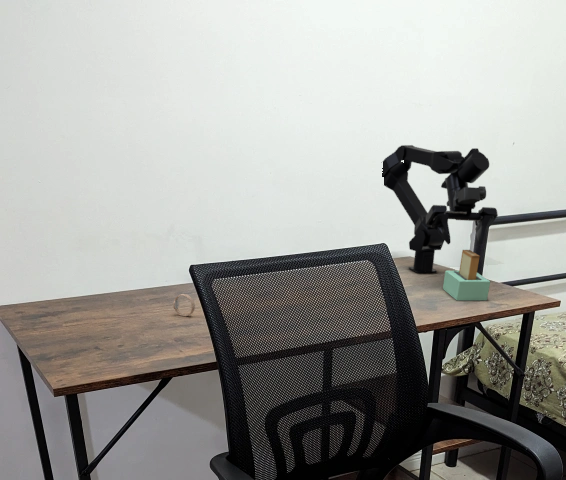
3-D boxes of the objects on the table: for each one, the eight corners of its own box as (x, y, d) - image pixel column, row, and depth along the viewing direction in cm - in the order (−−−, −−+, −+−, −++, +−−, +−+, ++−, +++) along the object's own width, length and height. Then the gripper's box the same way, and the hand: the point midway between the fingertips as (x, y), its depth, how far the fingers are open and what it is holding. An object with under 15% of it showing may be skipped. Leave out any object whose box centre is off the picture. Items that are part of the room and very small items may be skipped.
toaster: (442, 288, 200) (445, 269, 198) (475, 288, 201) (478, 269, 199) (456, 300, 190) (459, 280, 187) (491, 300, 191) (494, 280, 189)
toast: (456, 289, 199) (462, 249, 193) (463, 289, 199) (469, 249, 193) (465, 296, 192) (472, 255, 187) (473, 296, 192) (479, 255, 187)
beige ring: (178, 313, 172) (177, 292, 170) (196, 315, 171) (195, 294, 168) (173, 316, 170) (172, 294, 168) (191, 318, 169) (190, 297, 166)
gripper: (436, 172, 188) (443, 224, 185) (502, 175, 192) (510, 227, 188) (422, 199, 199) (428, 249, 196) (485, 202, 202) (492, 251, 199)
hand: (465, 244), depth 194 cm, fingers open, 9 cm apart
